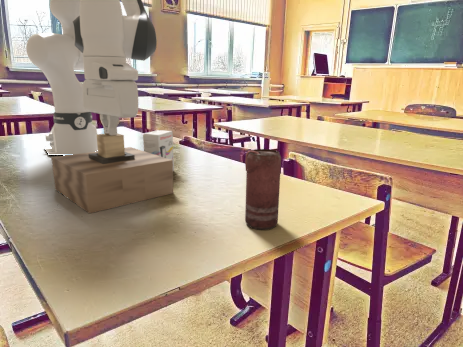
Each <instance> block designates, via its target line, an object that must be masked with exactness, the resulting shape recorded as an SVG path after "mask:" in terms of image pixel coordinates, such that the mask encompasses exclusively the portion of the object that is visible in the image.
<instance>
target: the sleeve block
mask: <svg viewBox="0 0 463 347" xmlns="http://www.w3.org/2000/svg"><path fill="white" fill-rule="evenodd" d="M124 149H125V155H123V156H116V157H109V158H104V157H102V156H99V155H98V151H96V152H89V153H81V154H73V155H65V156H51V164H52V171H53V172H52V173H53V179H54V180H53V181H54V189H56V190H57V191H56V190H55V191H56V192H58V191H59V192H60V193H62V194H63V195H65V196H66V197H68V198H69V199H70V200H69V199H68V198H67V199H68V200H69V201H71V200H72V201H73V202H72V201H71V202H72V203H73V204H75V203H76V204H77V205H76V204H75V205H76V206H78V207H79V208H81V209H82V210H84V211H85V212H86V213H88V214H93V213H97V212H101V211H105V210H109V209H110V210H111V209H113V208H114V209H115V208H117V207H118V208H119V207H123V206H126V205H130V203H131V204H134V203H139V202H143V201H146V200H150V199H154V198H160V197H163V196H168V195H172V194H174V171H173V160H171V159H167V158H164V157H161V156H158V155H154V154H151V153H148V152H145V151H144V150H142V149H138V148H135V147H131V146H129V147H124ZM59 192H58V193H59ZM60 193H59V194H60ZM62 194H61V195H62ZM63 195H62V196H63ZM65 196H64V197H65ZM66 197H65V198H66Z"/></svg>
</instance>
